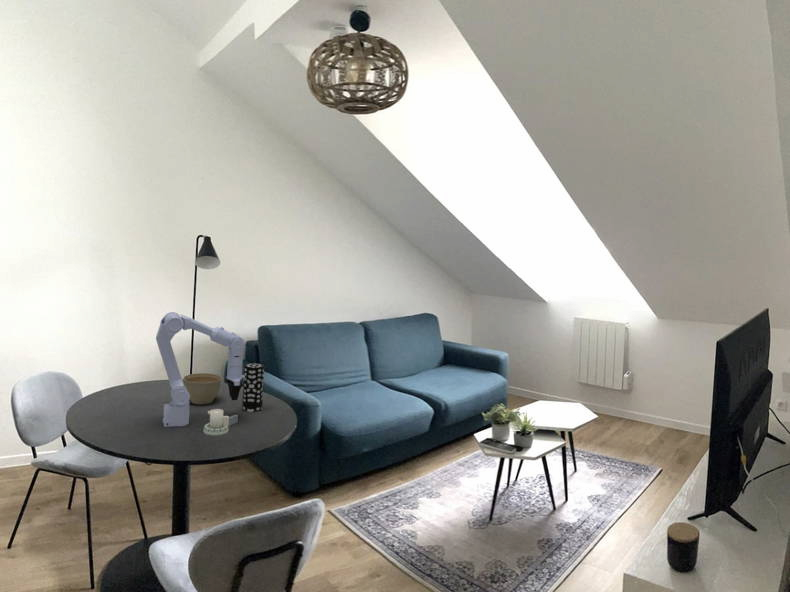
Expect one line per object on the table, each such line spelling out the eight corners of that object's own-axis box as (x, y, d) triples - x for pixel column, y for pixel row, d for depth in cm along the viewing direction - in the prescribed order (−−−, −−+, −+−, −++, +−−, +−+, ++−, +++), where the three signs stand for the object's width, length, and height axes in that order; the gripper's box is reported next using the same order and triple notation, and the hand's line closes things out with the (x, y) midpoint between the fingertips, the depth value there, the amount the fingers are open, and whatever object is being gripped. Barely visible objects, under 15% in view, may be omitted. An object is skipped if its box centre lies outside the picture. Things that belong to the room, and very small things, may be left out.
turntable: (204, 436, 210) (204, 428, 209) (201, 424, 222) (201, 416, 222) (242, 433, 215) (242, 425, 215) (237, 421, 227) (237, 414, 227)
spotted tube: (266, 411, 245) (268, 366, 242) (249, 415, 239) (251, 368, 236) (254, 406, 250) (256, 362, 248) (238, 410, 244) (240, 364, 242)
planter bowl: (200, 409, 241) (201, 384, 240) (174, 401, 249) (175, 377, 248) (228, 401, 255) (229, 377, 254) (203, 394, 263) (204, 371, 262)
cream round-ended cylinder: (207, 431, 212) (208, 413, 211) (206, 427, 216) (207, 409, 215) (229, 430, 215) (229, 412, 214) (227, 425, 219) (228, 408, 218)
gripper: (248, 369, 223) (246, 403, 225) (242, 360, 237) (241, 392, 238) (229, 370, 221) (228, 404, 222) (224, 361, 234) (223, 393, 235)
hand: (233, 398), depth 230 cm, fingers open, 4 cm apart
